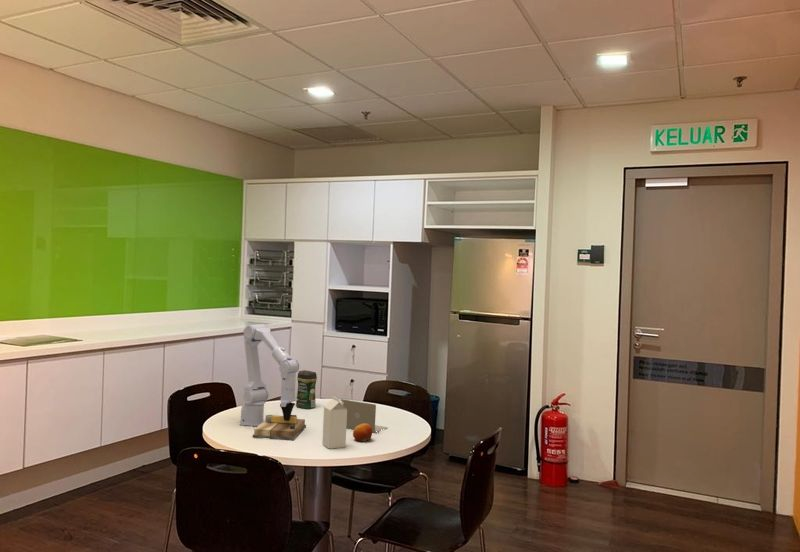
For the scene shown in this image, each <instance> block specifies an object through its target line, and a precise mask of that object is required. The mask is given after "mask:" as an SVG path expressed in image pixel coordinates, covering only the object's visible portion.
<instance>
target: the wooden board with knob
mask: <svg viewBox="0 0 800 552" xmlns="http://www.w3.org/2000/svg"><path fill="white" fill-rule="evenodd" d="M291 416H294V417H298V416H297V415H296V414H291ZM263 421H264V422H263V423H261V424H260V425H259V426H255V428H254V432H253V433H254V434H252V437H254V438H253V439H262V438H270V439H269V440H278V439H279V441H280V440H281V441H282V440H283V441H295V440H296V439H297V438H298V437H299V435H300V434H302V432H303V431H304V430H305V429H306V428H307V424H306V419H304V418H303V419H301V418H297V422H296V423H295V424H293V423H276V422H266V419H265V420H263Z"/></svg>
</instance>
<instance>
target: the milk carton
mask: <svg viewBox="0 0 800 552" xmlns="http://www.w3.org/2000/svg"><path fill="white" fill-rule="evenodd" d="M343 404H344V403H343V402H342V401H341V399H339V398H337V397H336V396H334V395H332V399H331V400H329V401H328V402H327V403H326V404H325V405H324V406H323V423H322V424H323V425H322V442H321V443H322V445H323V446H324V447H325V448H327V449H329V450H330V449H338V448H339V449H340V448H346V443H347V442H346V441H347V429H346V424H347V409H346V408H345V407H344V406H343Z"/></svg>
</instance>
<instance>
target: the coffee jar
mask: <svg viewBox="0 0 800 552" xmlns="http://www.w3.org/2000/svg"><path fill="white" fill-rule="evenodd" d="M317 378H318V377H317V373H316V372H315V371H311V370H305V369H304V370H303V369H302V370H298V371H297V376H296V381H297V393H296V399H297V401H295V406H296V407H297V408H300V409H304V410H305V409H306V410H308V409H309V410H311V409H312V410H313V409H315V407H316V384H317V381H318V379H317Z"/></svg>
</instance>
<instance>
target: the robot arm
mask: <svg viewBox="0 0 800 552" xmlns="http://www.w3.org/2000/svg"><path fill="white" fill-rule="evenodd" d="M243 340H244V349H245V351H244V352H245V360H246V368H247V377H248V378H247V379H248V383H247V384H246V385H245V386H244V388H243V389H244V391H243V401H244V403H243V404H242V405H241V409H240V424H239V425H240V426H247V427H248V426H249V427H250V426H251V427H252V426H253V427H258V426H259V425H260V424H261V423H263V422H264V421H265V420H264V414H265V413H264V410H265V404H266V401H268V398H269V391H268V389H267V385H266V383H264V382H263V381H262V377H261V374H262V373H261V370H260V369H261V366H260V358H259V348H258V346H259V344H260V343H261V342H263V343H264V344H265V346H267V347H268V349H270V351H271V352H272V354H271V356H272V358H273V359H274V360H275V361H276V362H277V364H278V366H279V368H278V369H279V372H280V376H281V391H280V398H279V400H280V403H279V406H280V409H281V412H282V416H283V417H284V421H289V420H290V416H291V415H292V413H293V409H294V407H295V406H296V401H297V398H295V397H296V381H297V373H298V372H299V371H300V370H299V369H300V363H299V362H298V360H297V359H295V358H293V357H291V356H290V354H289V353H288V352H287V351H286V348H285V347H283V346H279V344H278V343H277V341H276V339H275V338H274V337H273V335H272V333H271V328H270V327H269V325H268V324H266V323H260V324H258V323H257V324H247V325H246V326H245V327H244V328H243Z"/></svg>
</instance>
